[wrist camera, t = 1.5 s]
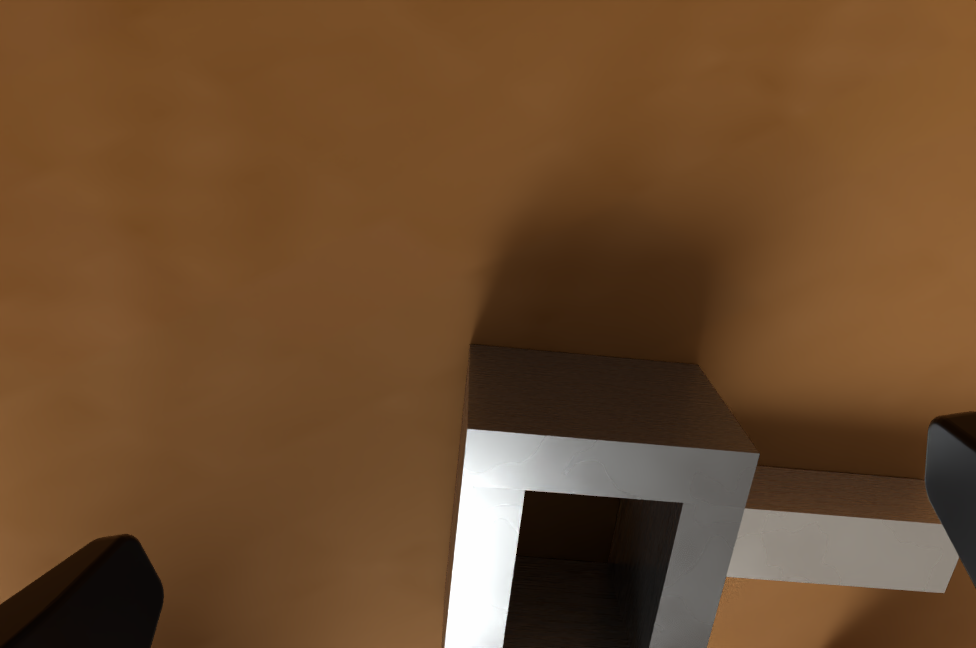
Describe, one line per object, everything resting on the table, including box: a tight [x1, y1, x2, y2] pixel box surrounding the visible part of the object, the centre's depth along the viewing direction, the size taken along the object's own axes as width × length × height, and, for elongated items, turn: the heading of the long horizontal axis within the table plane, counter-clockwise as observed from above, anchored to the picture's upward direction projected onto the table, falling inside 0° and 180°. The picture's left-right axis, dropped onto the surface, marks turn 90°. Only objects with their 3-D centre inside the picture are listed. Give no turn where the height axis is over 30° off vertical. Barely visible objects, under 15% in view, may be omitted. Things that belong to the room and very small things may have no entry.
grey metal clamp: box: [442, 344, 959, 648], centre depth 21 cm, size 14×15×6 cm
